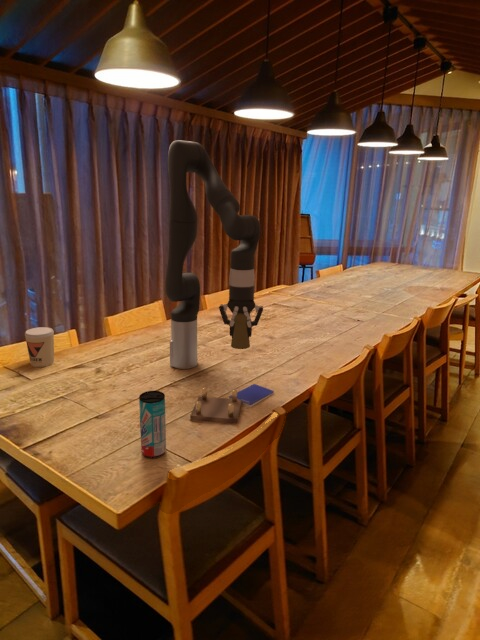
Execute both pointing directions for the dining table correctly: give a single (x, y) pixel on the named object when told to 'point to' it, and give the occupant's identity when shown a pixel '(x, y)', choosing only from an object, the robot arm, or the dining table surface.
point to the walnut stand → (216, 408)
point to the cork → (240, 332)
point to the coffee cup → (40, 346)
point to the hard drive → (253, 395)
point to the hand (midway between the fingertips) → (240, 337)
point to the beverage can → (152, 423)
